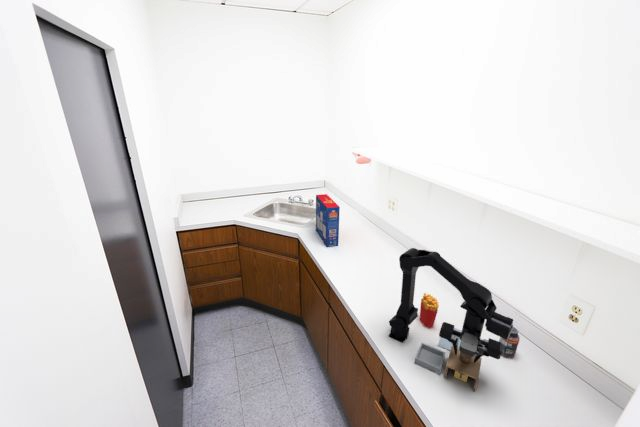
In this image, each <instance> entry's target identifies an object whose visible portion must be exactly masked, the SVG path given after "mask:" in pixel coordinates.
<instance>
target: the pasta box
mask: <svg viewBox="0 0 640 427" xmlns="http://www.w3.org/2000/svg"><path fill="white" fill-rule="evenodd" d="M339 230H340V206H339V205H338V204H337V203H336V201H334V200H333V199H332V198H331V197H330V196H329V194H327V193H325V194H315V232H316V233H317V235H318V234H319V235H318V236H319V237H321V238H320V239H321V240H322V242H323V244H324V245H325V248H333V247H339V240H340V239H339V238H340V237H339V233H340V231H339Z"/></svg>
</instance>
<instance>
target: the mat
mask: <svg viewBox="0 0 640 427" xmlns="http://www.w3.org/2000/svg"><path fill="white" fill-rule="evenodd" d="M454 330H456V331H458V332H462V329H459V328H456V327H454ZM439 337H440V336H439ZM481 337H482V336H481ZM481 337H480V339H482V338H481ZM460 342H461V340H460V339H459V341H458V349H459V347H460ZM452 346H453V344H452V343H451V342H449V341H448V340H447V339H444V338H442V337H440V338H439V341H438V344H437V347H440V348H443V349H444V350H448V351H449V352H450V350H451V347H452Z"/></svg>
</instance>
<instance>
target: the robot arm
mask: <svg viewBox="0 0 640 427" xmlns="http://www.w3.org/2000/svg"><path fill="white" fill-rule="evenodd" d="M398 259H399V268H400V269H401V272H402V281H401V284H402V285H401V293H400V304H399V306H398V308H397V311H396V314H394V316H392V317H391V319H389V321H388V323H389V326H390V332H389V334H388V337H389V338H391V339H393V340H395V341H398V342H401V343H403V344H404V343H405V342H406V340H407V339H408V338H409V334H410V327H409V326H410V325H412V323H413V322H414V321H415V320H416V319H417V318H418V317H419V314H418V311H419V308H418V307H415V304H414V297H415V296H414V295H415V289H416V288H415V287H416V277H417V271H418V270H419V268H420V267H421V268H422V267H431V268H432V269H433V270H434V271H435V272H437V273H438V274H439V275H440V276H441V277H442V278H444V279H445V280H446V281H447V282H448V283H450V285H452V286H453V287H454V288H455V289H456V290H457V291H458V292H459V294H460V296H461V297H462V299H463V302H462V303H461V305H460V308H461V309H463V310H466V311H465V315H464V319H463V324H462V329H461V330H462V332H458V331H456V330H454V328H455V325H454V324H452V323H449V322H446V321H444V322H442V324H441V326H440V330H439V333H438V335H439V337H442V338H444V339H447V340H448V341H449V342H451V343H452V344H453V347H454V352H455V355H457V351H458V341H459V339H460V340H461V342H460V347H459V351H460V352H462V353H465V354H467V355H470V356H472V357H474V356H475V358H474V363H475V362H476V361H477V360H478V359H479V358H482V357H487V358H488V357H491V358H493V359H496V360H500V359H501V357H502V355H501V353H502V344H501V342H499V340H495V339H493V338H491V337H490V338H489V337H488V339H486V338H483V339H482V338H481V339H480V337H482V333H483V329H484V327H485V331H487V332H489V333H491V334H493V335H496V336H497V337H499V338H500V337H502V338H504V339H506V340H508V338H509V336H510V333H511V331H512V328H513V327H514V325H513V324H514V319H513V318H511V317H509V316H506V315H503V314H500V313H498V312H496V310H497V306H496V303H495V302H494V300H493V295H492V292H491V291H490V290H489V289H488V288H487V287H485V286H483V285H482V284H480V283H478V282H476V281H472V280H470V279H469V278H467V277H466V276H465V275H464V274H463V273H462V272H460V271H459V270H458V269H456V268H455V266H453V265H452V264H451V263H450V262H448V261H447V260H446V259H444V257H442V256H441V254H440V253H439V252H437V251H431V250H430V251H429V250H426V249H418V248H415V247H410V248H409V249H408V250H406V251H405V252H403V253H402V254H400V256H399V258H398Z"/></svg>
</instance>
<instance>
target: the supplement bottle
mask: <svg viewBox="0 0 640 427" xmlns="http://www.w3.org/2000/svg"><path fill="white" fill-rule="evenodd" d="M498 341H499V342H501V344H502V353H501V356H503V357H505V358H509V359H510V358H511V359H513V358H514V357H515V356H516V353H517V349H518V346H519V343H520V335H519V330H518V329H517V328H516V327H514V326H513V328H512V331H511V333H510V336H509V338H508V340H506V339H504V338H502V337H500V336H499V340H498Z"/></svg>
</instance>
